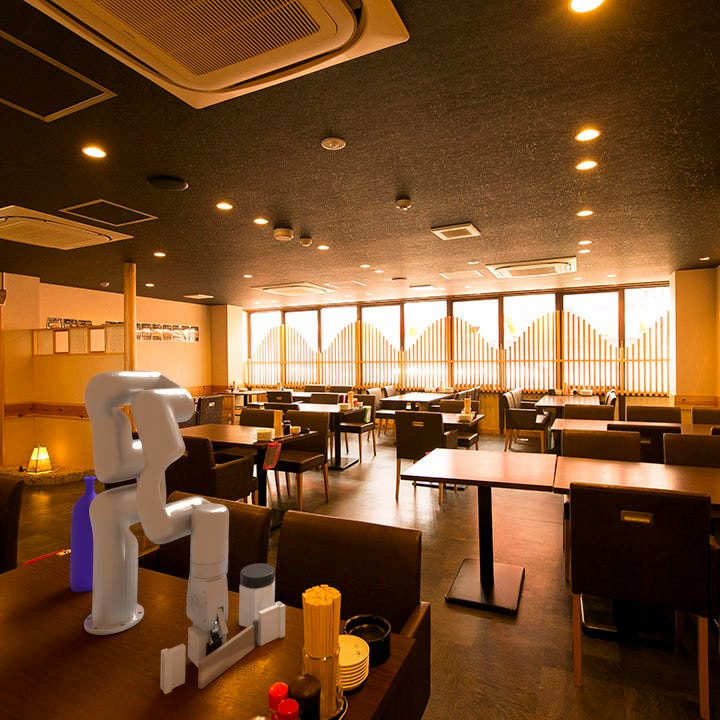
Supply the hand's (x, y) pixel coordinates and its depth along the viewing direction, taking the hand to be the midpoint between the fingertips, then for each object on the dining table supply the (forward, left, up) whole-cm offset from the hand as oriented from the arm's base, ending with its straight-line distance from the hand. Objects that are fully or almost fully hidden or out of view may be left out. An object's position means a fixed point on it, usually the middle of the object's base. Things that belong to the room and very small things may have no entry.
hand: (207, 652), depth 95 cm
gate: (+5, +3, -2) cm, 6 cm away
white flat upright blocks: (+2, +3, -2) cm, 4 cm away
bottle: (-54, -9, -2) cm, 54 cm away
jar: (-7, +16, -2) cm, 17 cm away
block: (0, 0, -1) cm, 1 cm away
